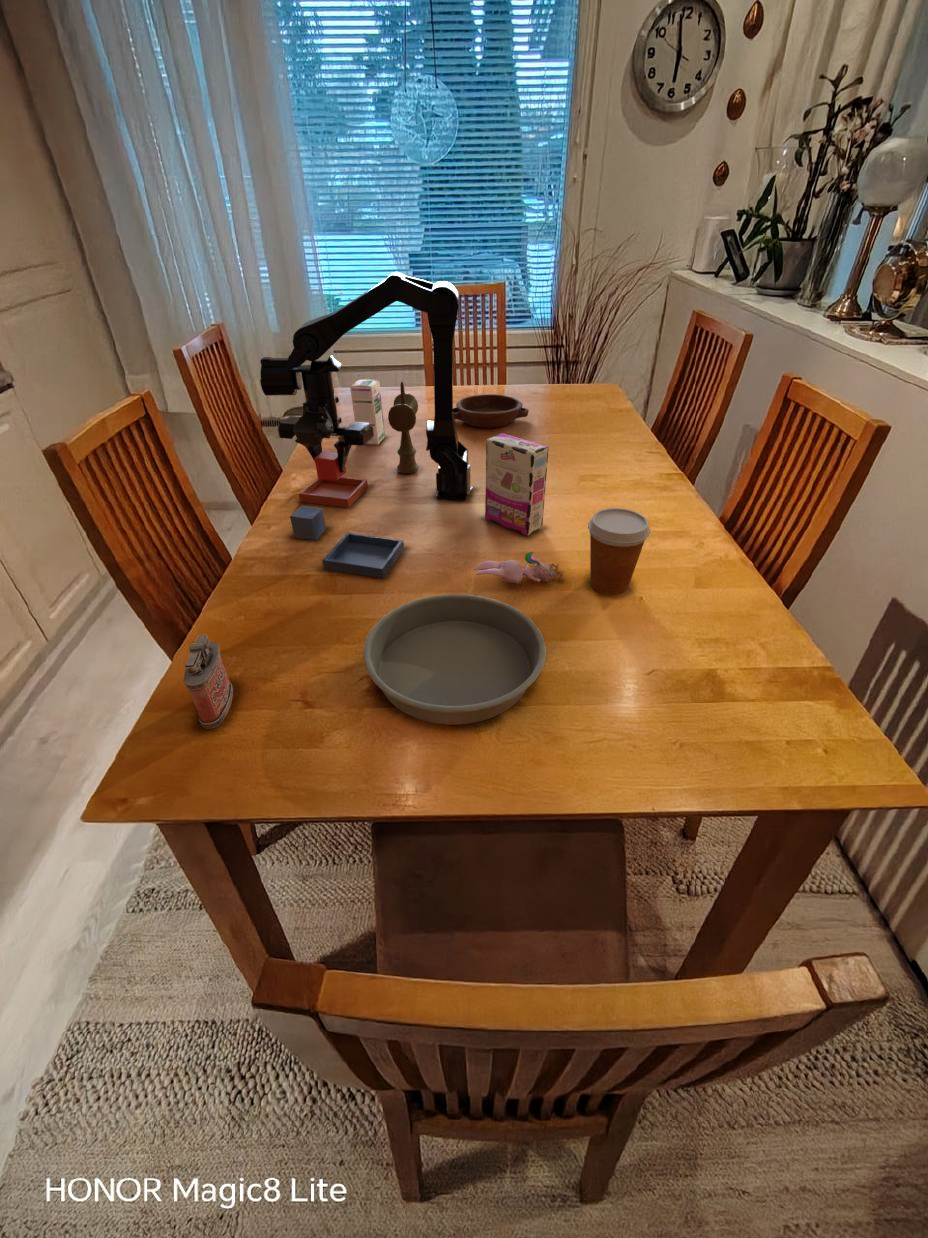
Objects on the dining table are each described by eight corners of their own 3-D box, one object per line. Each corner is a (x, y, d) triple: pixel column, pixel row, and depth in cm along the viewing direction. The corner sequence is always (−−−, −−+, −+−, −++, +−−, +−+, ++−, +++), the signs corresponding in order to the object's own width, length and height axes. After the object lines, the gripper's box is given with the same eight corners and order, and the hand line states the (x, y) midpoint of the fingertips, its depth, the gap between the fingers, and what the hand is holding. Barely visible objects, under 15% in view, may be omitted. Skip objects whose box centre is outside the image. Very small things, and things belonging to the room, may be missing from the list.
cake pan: (573, 711, 76) (577, 686, 73) (384, 755, 70) (380, 729, 67) (508, 604, 94) (509, 580, 92) (354, 632, 89) (351, 608, 86)
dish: (532, 431, 157) (533, 412, 154) (449, 432, 157) (449, 414, 154) (524, 410, 171) (525, 392, 168) (448, 411, 171) (448, 393, 167)
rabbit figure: (551, 573, 104) (469, 570, 100) (560, 544, 100) (475, 539, 97) (562, 593, 99) (476, 590, 95) (571, 563, 96) (482, 559, 92)
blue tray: (404, 549, 108) (403, 539, 107) (383, 578, 101) (382, 568, 100) (348, 541, 111) (347, 532, 110) (323, 569, 103) (322, 559, 102)
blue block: (326, 529, 115) (322, 508, 112) (315, 540, 111) (311, 519, 109) (305, 526, 116) (301, 505, 113) (294, 537, 112) (289, 516, 110)
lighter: (212, 685, 80) (190, 627, 74) (237, 683, 80) (218, 625, 74) (195, 729, 74) (170, 670, 68) (223, 727, 74) (201, 668, 68)
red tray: (368, 487, 130) (367, 479, 129) (348, 507, 122) (347, 499, 121) (322, 482, 132) (320, 474, 131) (300, 501, 125) (298, 493, 123)
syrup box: (378, 445, 150) (372, 386, 141) (356, 443, 151) (349, 385, 142) (385, 437, 154) (380, 379, 146) (364, 435, 155) (357, 378, 147)
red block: (346, 472, 126) (343, 451, 123) (337, 480, 122) (334, 459, 119) (327, 470, 127) (324, 449, 124) (317, 478, 123) (314, 457, 120)
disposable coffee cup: (604, 607, 94) (615, 541, 86) (569, 578, 100) (576, 514, 93) (650, 591, 97) (665, 526, 90) (613, 564, 104) (624, 501, 96)
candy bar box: (543, 528, 114) (550, 445, 105) (527, 537, 112) (533, 453, 102) (499, 510, 121) (502, 431, 111) (483, 518, 118) (484, 438, 108)
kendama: (393, 479, 133) (384, 388, 121) (397, 462, 141) (390, 375, 129) (419, 479, 133) (414, 387, 121) (422, 462, 141) (417, 375, 129)
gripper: (255, 403, 110) (272, 481, 120) (346, 411, 106) (356, 491, 116) (285, 386, 119) (298, 460, 128) (370, 393, 115) (378, 469, 124)
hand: (331, 470), depth 124 cm, fingers closed on red block, 4 cm apart
